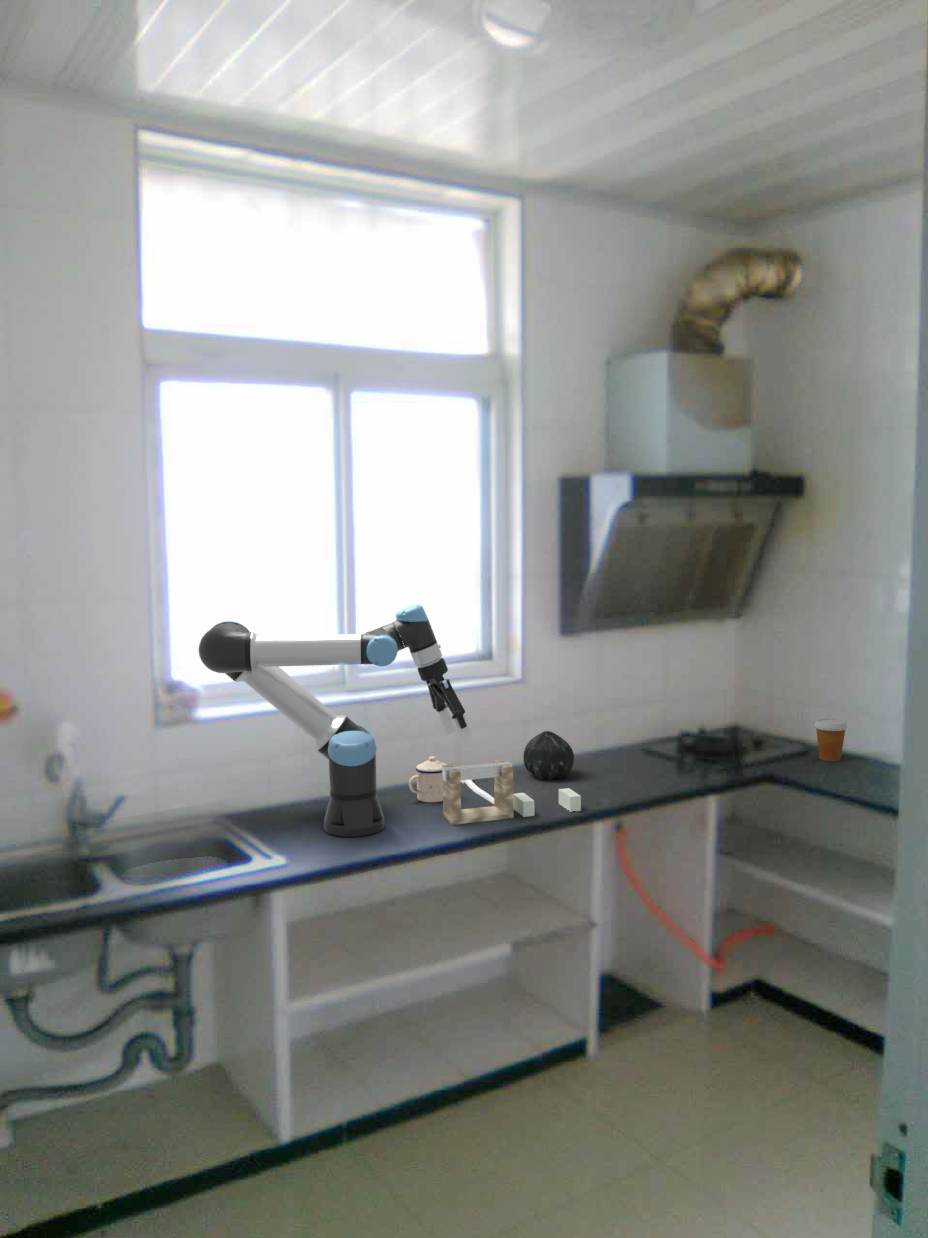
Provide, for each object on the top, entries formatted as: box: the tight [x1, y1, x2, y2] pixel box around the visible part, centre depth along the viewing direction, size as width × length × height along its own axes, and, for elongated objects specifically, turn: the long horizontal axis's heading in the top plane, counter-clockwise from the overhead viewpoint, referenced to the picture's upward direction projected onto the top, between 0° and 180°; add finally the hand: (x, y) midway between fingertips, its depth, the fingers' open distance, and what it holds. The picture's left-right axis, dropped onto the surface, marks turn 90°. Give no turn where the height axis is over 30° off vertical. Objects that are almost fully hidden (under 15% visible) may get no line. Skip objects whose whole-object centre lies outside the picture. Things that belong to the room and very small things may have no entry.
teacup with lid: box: [408, 755, 448, 803], centre depth 272 cm, size 12×9×12 cm
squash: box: [523, 730, 575, 780], centre depth 294 cm, size 14×15×15 cm
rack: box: [442, 759, 514, 826], centre depth 255 cm, size 16×8×14 cm, turn 107°
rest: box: [513, 787, 582, 818], centre depth 261 cm, size 16×8×4 cm, turn 107°
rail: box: [442, 761, 513, 782], centre depth 255 cm, size 18×3×3 cm, turn 107°
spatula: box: [461, 779, 494, 805], centre depth 279 cm, size 28×4×3 cm, turn 21°
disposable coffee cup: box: [814, 718, 848, 762], centre depth 309 cm, size 10×10×12 cm
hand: (459, 735), depth 263 cm, fingers open, 13 cm apart
